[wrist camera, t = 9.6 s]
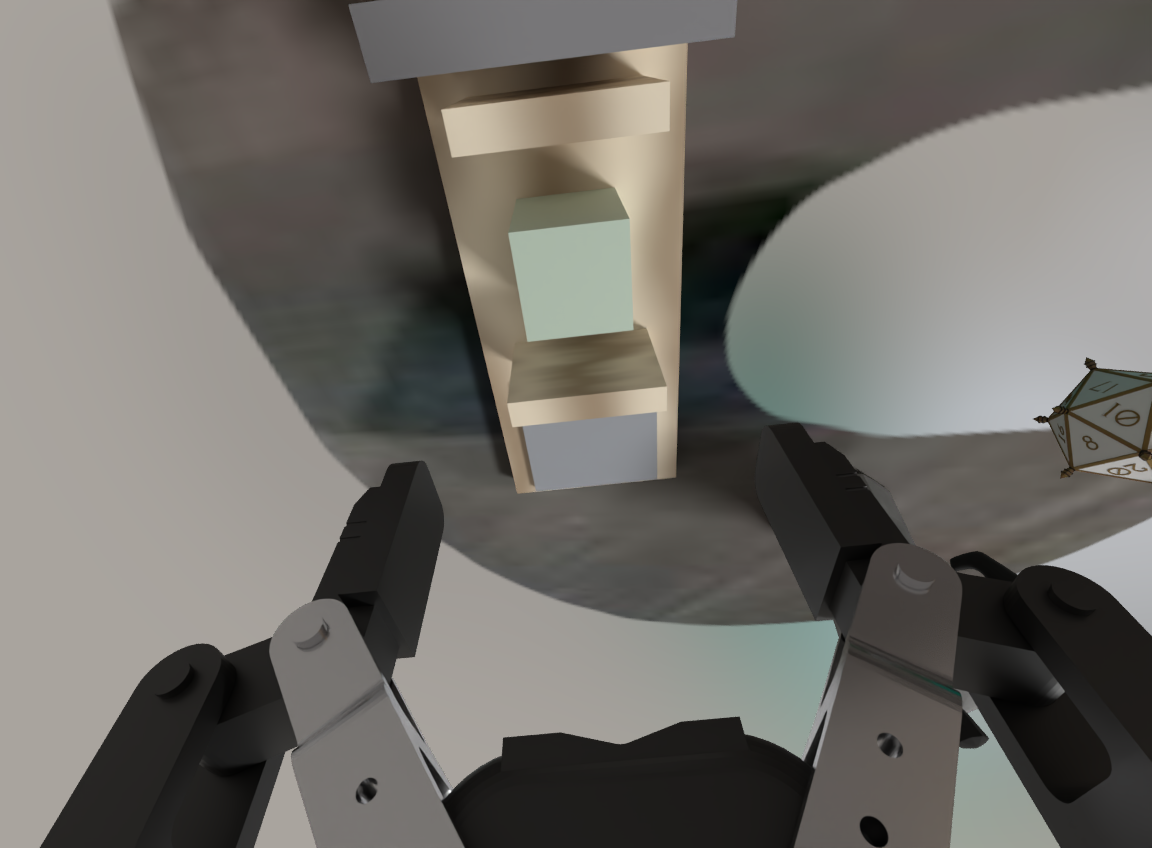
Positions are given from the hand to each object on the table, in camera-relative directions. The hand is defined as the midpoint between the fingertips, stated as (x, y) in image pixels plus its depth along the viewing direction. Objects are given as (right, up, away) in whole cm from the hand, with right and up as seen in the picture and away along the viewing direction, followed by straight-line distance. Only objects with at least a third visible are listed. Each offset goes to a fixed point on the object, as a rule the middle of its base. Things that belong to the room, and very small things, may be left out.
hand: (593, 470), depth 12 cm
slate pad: (+1, 0, +22) cm, 22 cm away
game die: (+36, +4, +24) cm, 43 cm away
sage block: (-1, +11, +15) cm, 18 cm away
